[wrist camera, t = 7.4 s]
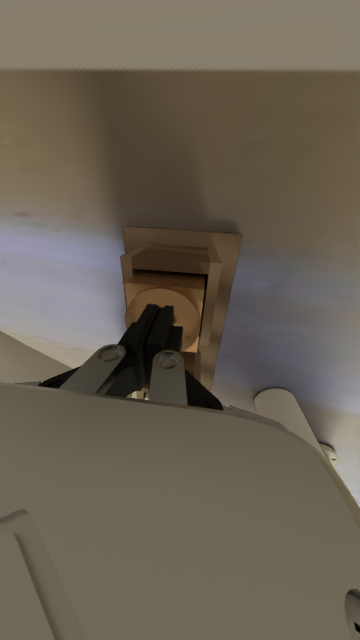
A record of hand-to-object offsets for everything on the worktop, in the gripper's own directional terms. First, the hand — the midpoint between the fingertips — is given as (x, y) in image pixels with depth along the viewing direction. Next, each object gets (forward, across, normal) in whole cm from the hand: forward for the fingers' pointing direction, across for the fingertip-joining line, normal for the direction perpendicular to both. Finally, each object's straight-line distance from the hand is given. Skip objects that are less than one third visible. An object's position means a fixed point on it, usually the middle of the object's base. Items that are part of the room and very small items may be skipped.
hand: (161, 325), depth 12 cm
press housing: (+11, 0, +7) cm, 13 cm away
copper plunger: (+8, 0, 0) cm, 8 cm away
